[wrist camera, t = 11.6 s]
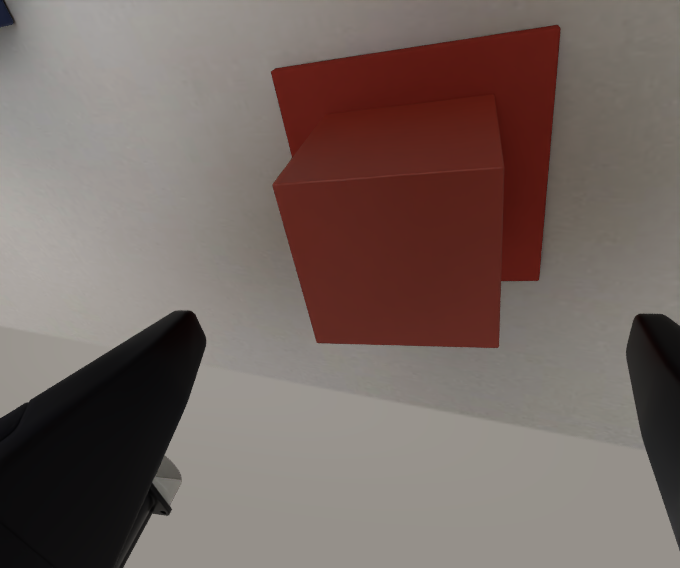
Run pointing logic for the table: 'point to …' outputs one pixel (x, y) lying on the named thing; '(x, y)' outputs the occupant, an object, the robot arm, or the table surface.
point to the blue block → (4, 15)
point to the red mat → (444, 84)
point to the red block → (399, 224)
